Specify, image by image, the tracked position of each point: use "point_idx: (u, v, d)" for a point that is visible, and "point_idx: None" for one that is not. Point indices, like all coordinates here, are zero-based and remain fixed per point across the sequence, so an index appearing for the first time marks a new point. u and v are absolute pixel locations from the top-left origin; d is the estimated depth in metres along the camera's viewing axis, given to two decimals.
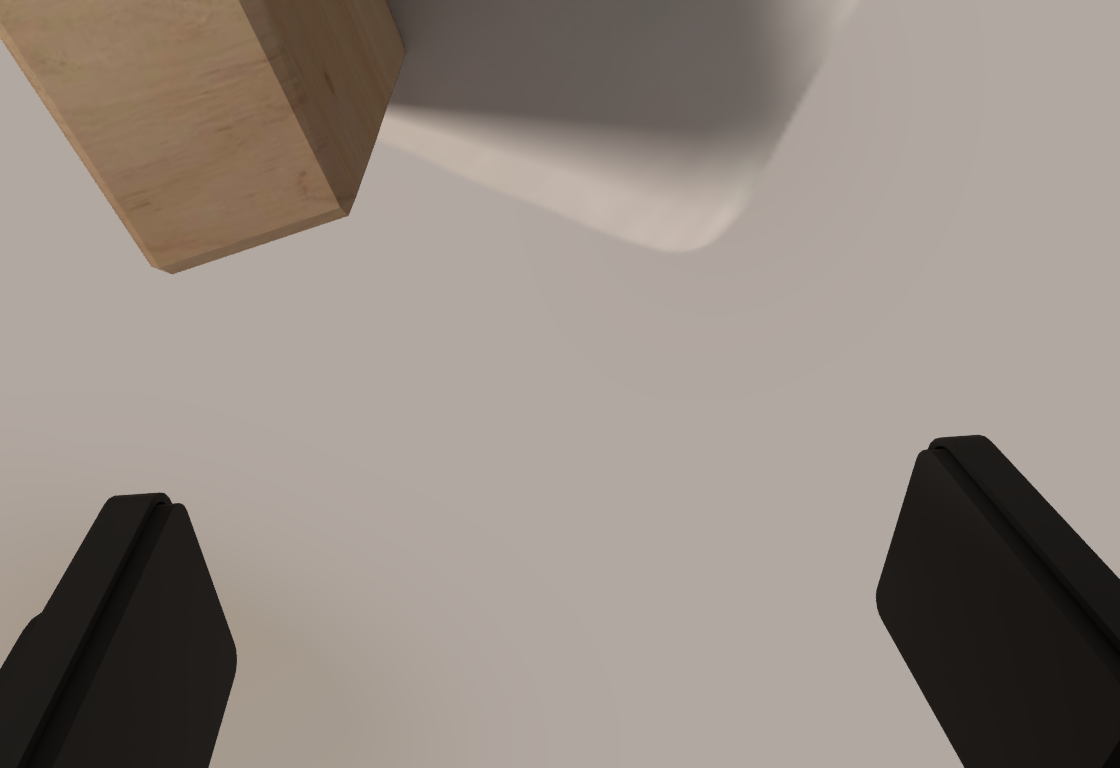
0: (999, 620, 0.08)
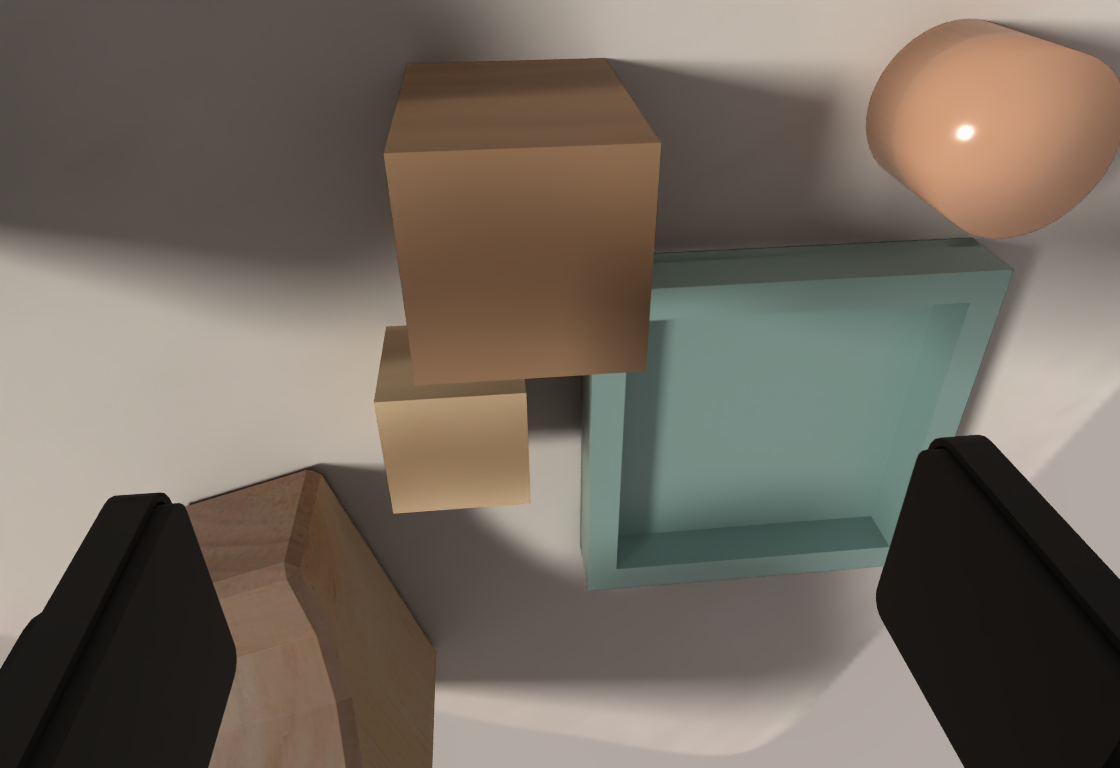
0: (999, 620, 0.08)
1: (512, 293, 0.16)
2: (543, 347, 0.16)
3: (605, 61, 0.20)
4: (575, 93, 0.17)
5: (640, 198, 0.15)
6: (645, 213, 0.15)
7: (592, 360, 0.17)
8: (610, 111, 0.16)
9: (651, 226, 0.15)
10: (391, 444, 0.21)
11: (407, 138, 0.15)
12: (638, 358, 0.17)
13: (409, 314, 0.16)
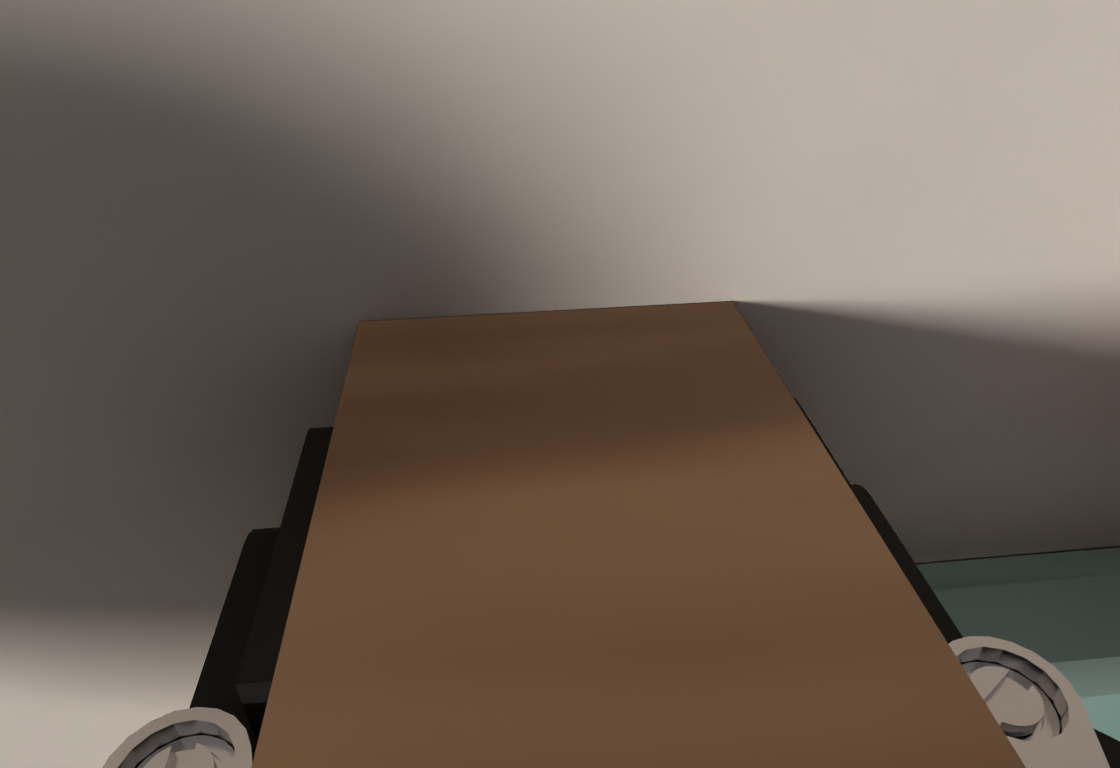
0: None
1: None
2: None
3: (737, 315, 0.10)
4: (717, 462, 0.08)
5: None
6: None
7: None
8: (829, 570, 0.07)
9: None
10: None
11: (307, 764, 0.05)
12: None
13: None
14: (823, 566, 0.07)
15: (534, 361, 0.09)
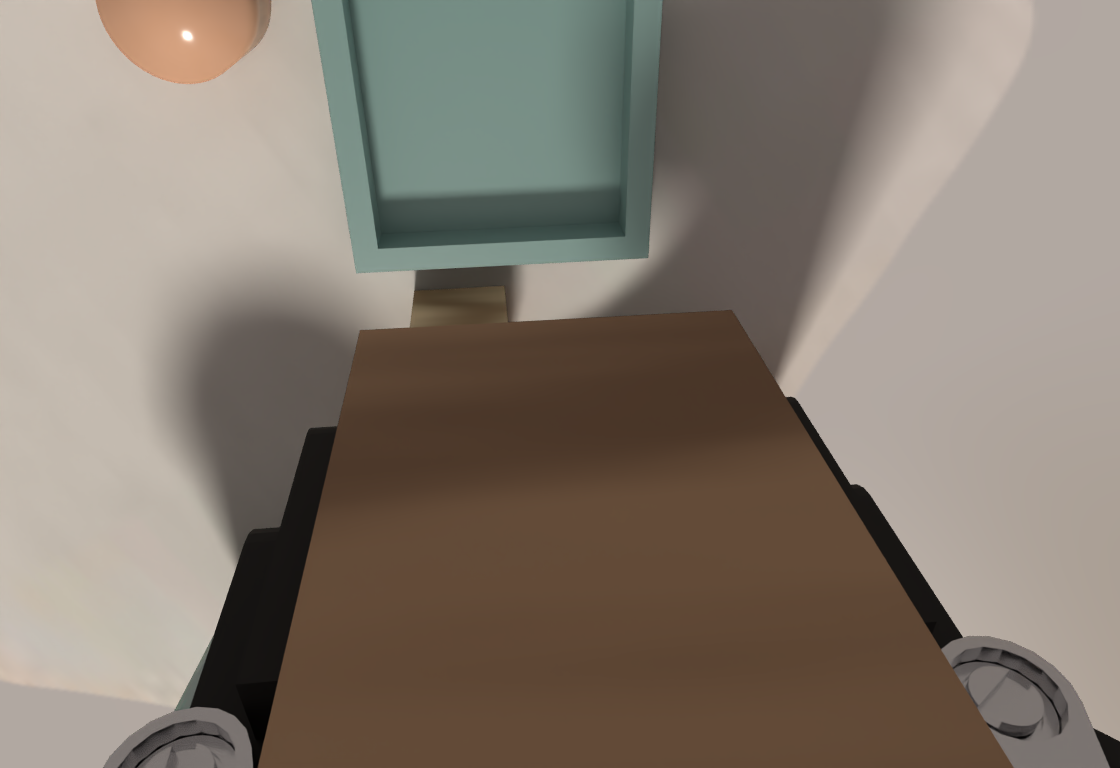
0: None
1: None
2: None
3: (736, 324, 0.10)
4: (716, 473, 0.08)
5: None
6: None
7: None
8: (827, 583, 0.07)
9: None
10: None
11: None
12: None
13: None
14: (821, 578, 0.07)
15: (534, 371, 0.09)
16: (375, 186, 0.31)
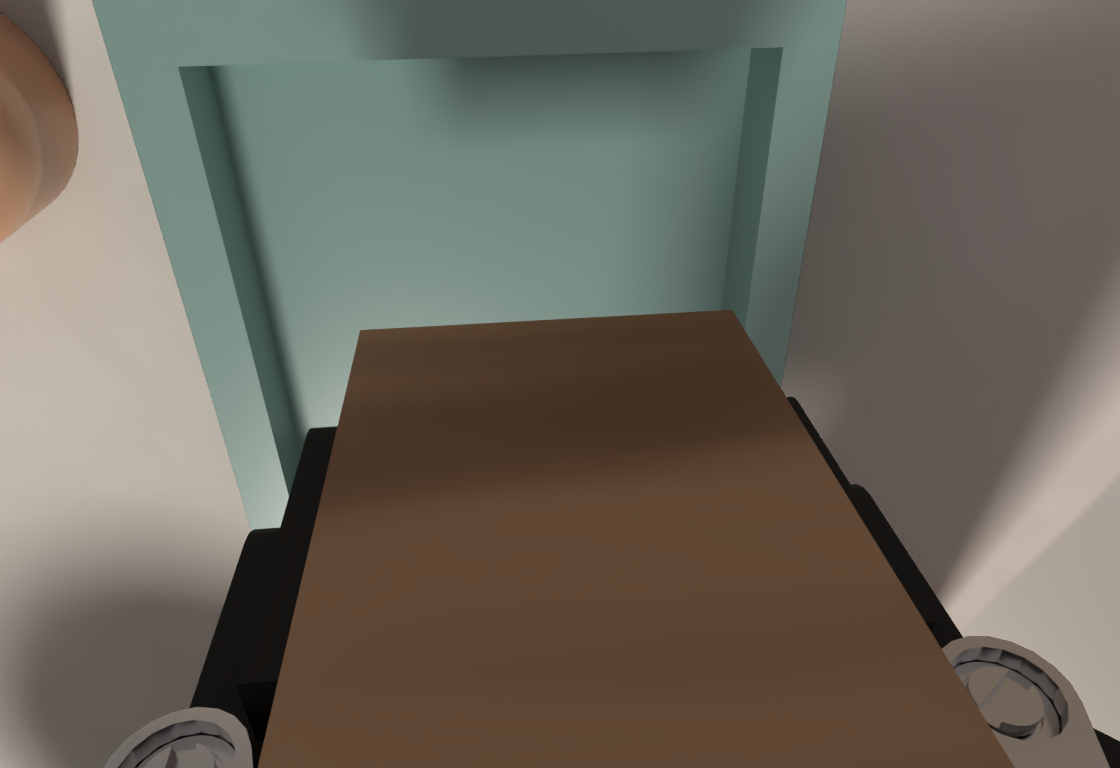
0: None
1: None
2: None
3: (737, 323, 0.10)
4: (717, 473, 0.08)
5: None
6: None
7: None
8: (827, 581, 0.07)
9: None
10: None
11: None
12: None
13: None
14: (822, 578, 0.07)
15: (534, 370, 0.09)
16: (293, 418, 0.18)
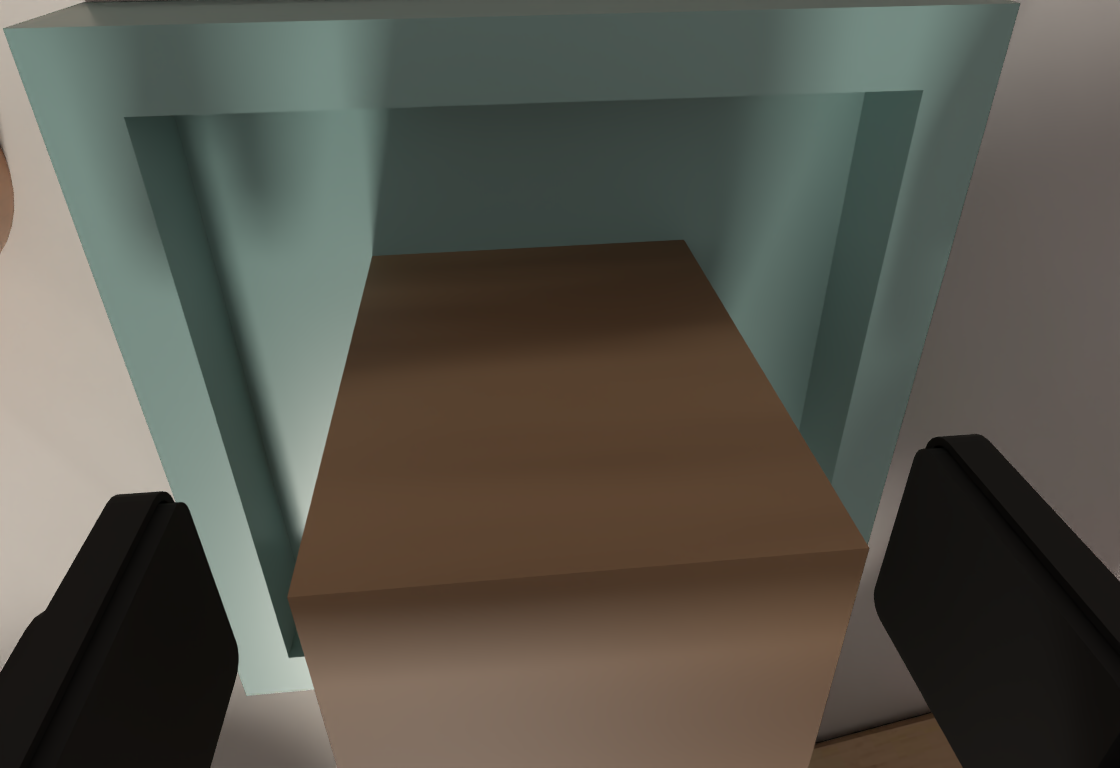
0: (996, 619, 0.08)
1: None
2: None
3: (686, 249, 0.12)
4: (657, 348, 0.10)
5: (813, 630, 0.07)
6: (819, 650, 0.08)
7: None
8: (733, 414, 0.09)
9: (827, 665, 0.08)
10: None
11: (345, 523, 0.07)
12: None
13: None
14: (729, 411, 0.09)
15: (516, 282, 0.11)
16: (285, 521, 0.15)
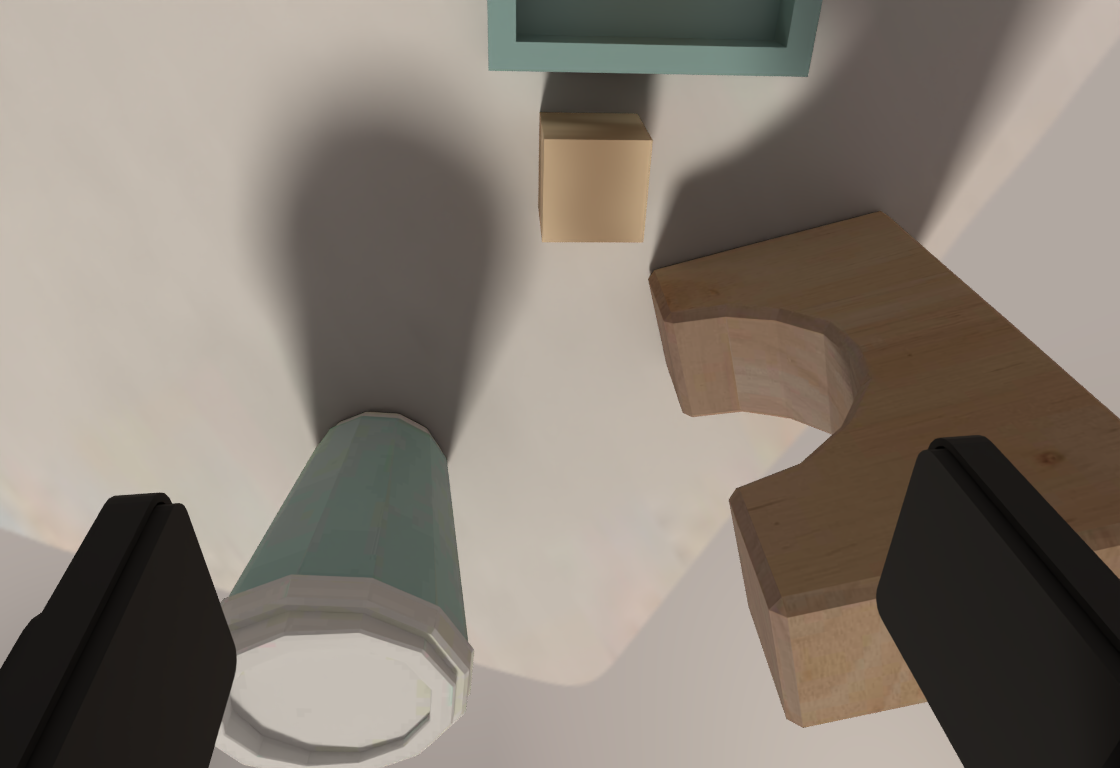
0: (999, 620, 0.08)
1: None
2: None
3: None
4: None
5: None
6: None
7: None
8: None
9: None
10: (578, 235, 0.31)
11: None
12: None
13: None
14: None
15: None
16: None
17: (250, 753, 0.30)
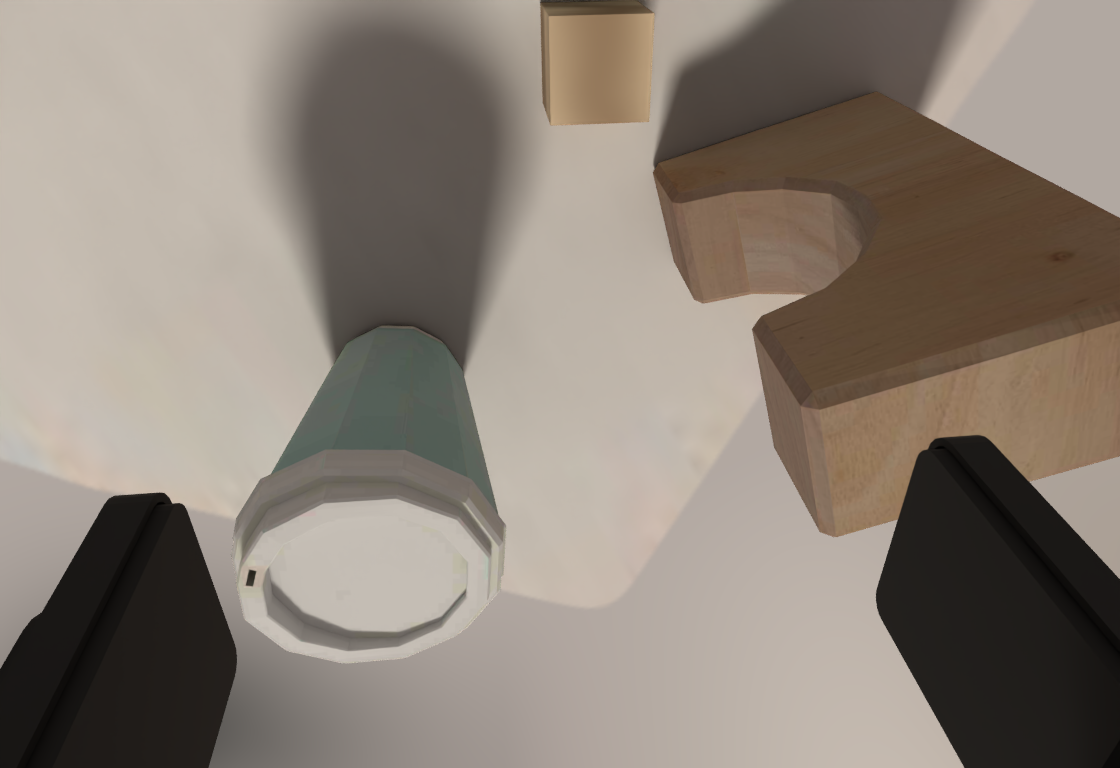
0: (999, 620, 0.08)
1: None
2: None
3: None
4: None
5: None
6: None
7: None
8: None
9: None
10: (586, 117, 0.31)
11: None
12: None
13: None
14: None
15: None
16: None
17: (293, 637, 0.30)
